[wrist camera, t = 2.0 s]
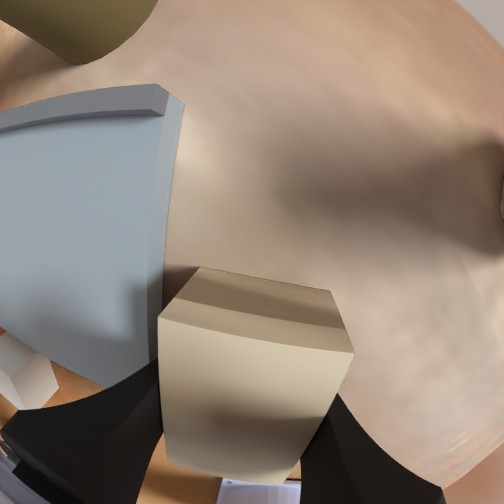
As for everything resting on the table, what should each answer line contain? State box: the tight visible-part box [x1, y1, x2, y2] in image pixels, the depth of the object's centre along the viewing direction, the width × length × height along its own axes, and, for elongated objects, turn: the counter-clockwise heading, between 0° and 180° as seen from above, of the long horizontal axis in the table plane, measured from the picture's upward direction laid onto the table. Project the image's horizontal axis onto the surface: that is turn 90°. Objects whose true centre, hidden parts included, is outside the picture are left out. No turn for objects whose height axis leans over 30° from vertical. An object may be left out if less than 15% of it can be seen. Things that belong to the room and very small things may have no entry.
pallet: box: [158, 267, 355, 485], centre depth 9 cm, size 8×5×4 cm, turn 171°
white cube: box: [0, 332, 59, 410], centre depth 12 cm, size 4×4×4 cm
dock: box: [0, 84, 185, 388], centre depth 10 cm, size 13×14×2 cm
